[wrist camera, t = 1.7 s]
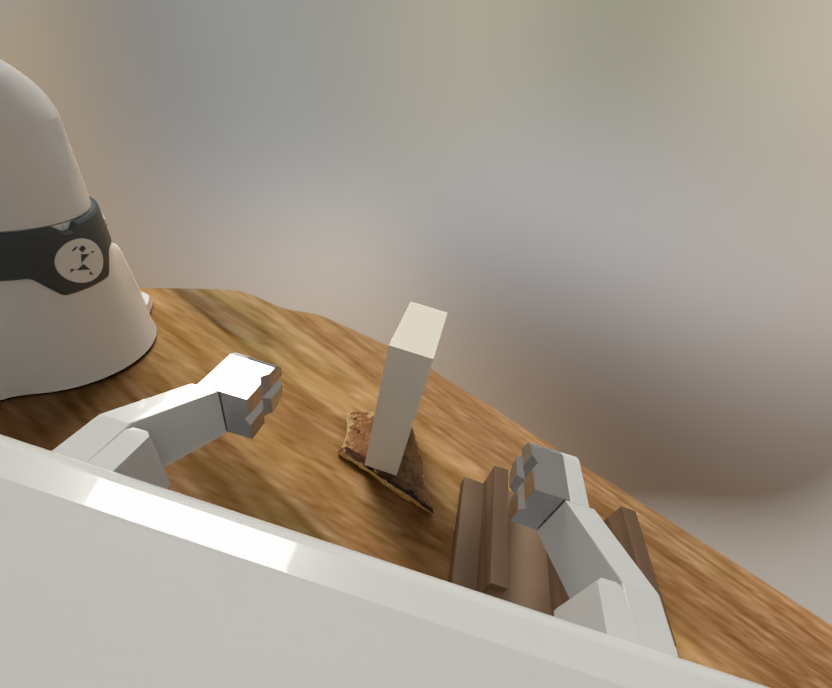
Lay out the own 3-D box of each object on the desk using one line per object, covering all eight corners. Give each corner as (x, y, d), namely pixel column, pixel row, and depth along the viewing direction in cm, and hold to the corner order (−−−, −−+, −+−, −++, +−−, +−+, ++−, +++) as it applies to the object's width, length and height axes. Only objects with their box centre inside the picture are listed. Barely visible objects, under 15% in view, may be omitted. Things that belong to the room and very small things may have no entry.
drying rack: (447, 593, 25) (464, 573, 23) (460, 484, 32) (474, 459, 30) (661, 667, 24) (704, 655, 22) (626, 538, 32) (656, 517, 29)
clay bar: (364, 465, 30) (388, 345, 22) (384, 415, 35) (410, 301, 27) (396, 475, 30) (433, 359, 22) (412, 424, 35) (447, 312, 27)
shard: (429, 520, 30) (434, 511, 29) (340, 531, 27) (342, 522, 26) (407, 420, 38) (410, 409, 37) (336, 422, 35) (337, 411, 34)
